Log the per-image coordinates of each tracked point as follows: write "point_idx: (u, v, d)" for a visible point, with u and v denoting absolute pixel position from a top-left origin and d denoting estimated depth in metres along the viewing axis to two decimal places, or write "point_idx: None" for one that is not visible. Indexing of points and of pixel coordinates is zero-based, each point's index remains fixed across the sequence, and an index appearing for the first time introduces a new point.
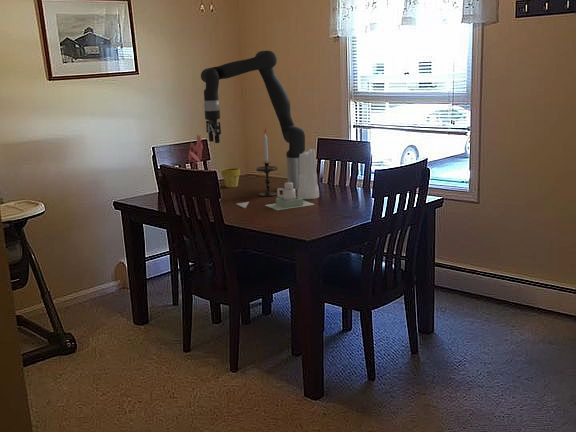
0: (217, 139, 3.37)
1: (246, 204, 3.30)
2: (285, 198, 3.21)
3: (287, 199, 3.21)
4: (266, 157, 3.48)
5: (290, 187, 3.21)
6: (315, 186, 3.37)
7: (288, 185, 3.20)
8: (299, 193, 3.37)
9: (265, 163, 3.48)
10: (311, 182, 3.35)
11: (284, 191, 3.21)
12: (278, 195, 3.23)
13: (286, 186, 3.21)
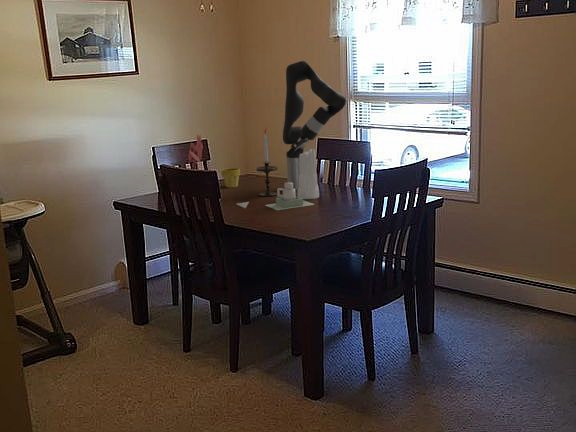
0: None
1: (246, 204, 3.30)
2: (285, 198, 3.21)
3: (287, 199, 3.21)
4: (266, 157, 3.48)
5: (290, 187, 3.21)
6: (315, 186, 3.37)
7: (288, 185, 3.20)
8: (299, 193, 3.37)
9: (265, 163, 3.48)
10: (311, 182, 3.35)
11: (284, 191, 3.21)
12: (278, 195, 3.23)
13: (286, 186, 3.21)
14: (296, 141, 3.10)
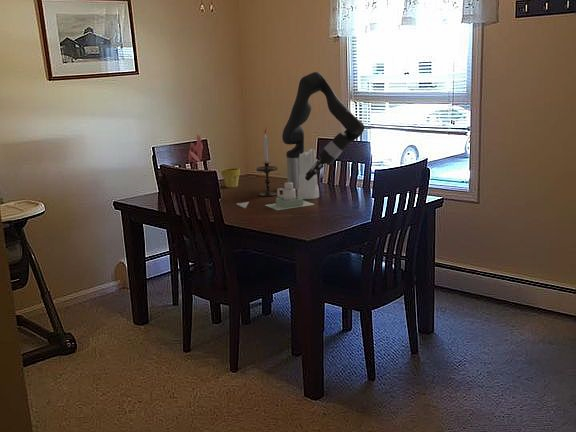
0: None
1: (246, 204, 3.30)
2: (285, 198, 3.21)
3: (287, 199, 3.21)
4: (266, 157, 3.48)
5: (290, 187, 3.21)
6: (315, 186, 3.37)
7: (288, 185, 3.20)
8: (299, 193, 3.37)
9: (265, 163, 3.48)
10: (311, 182, 3.35)
11: (284, 191, 3.21)
12: (278, 195, 3.23)
13: (286, 186, 3.21)
14: (317, 166, 3.13)
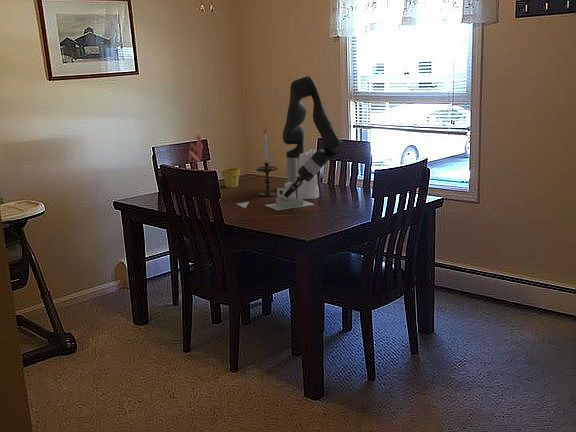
0: None
1: (246, 204, 3.30)
2: (285, 198, 3.21)
3: (287, 199, 3.21)
4: (266, 157, 3.48)
5: None
6: (315, 186, 3.37)
7: (288, 185, 3.20)
8: (299, 193, 3.37)
9: (265, 163, 3.48)
10: (311, 182, 3.35)
11: (284, 191, 3.21)
12: (278, 195, 3.23)
13: (286, 186, 3.21)
14: (295, 184, 3.16)
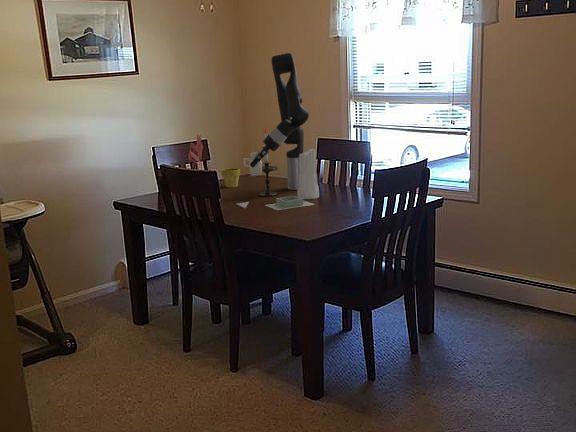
0: None
1: (246, 204, 3.30)
2: (251, 168, 3.24)
3: (253, 169, 3.24)
4: (266, 157, 3.48)
5: None
6: (315, 186, 3.37)
7: (254, 155, 3.23)
8: (299, 193, 3.37)
9: (265, 163, 3.48)
10: (311, 182, 3.35)
11: (250, 161, 3.24)
12: (244, 165, 3.26)
13: (252, 156, 3.24)
14: (260, 154, 3.18)
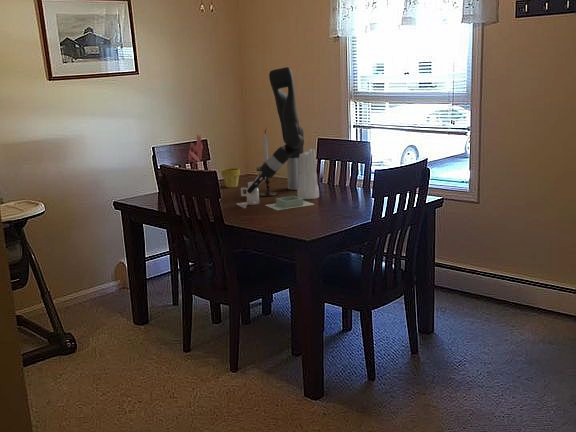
0: None
1: (246, 204, 3.30)
2: (248, 197, 3.28)
3: (250, 198, 3.28)
4: (266, 157, 3.48)
5: None
6: (315, 186, 3.37)
7: (251, 184, 3.27)
8: (299, 193, 3.37)
9: None
10: (311, 182, 3.35)
11: None
12: (242, 194, 3.30)
13: (249, 185, 3.28)
14: (258, 180, 3.22)
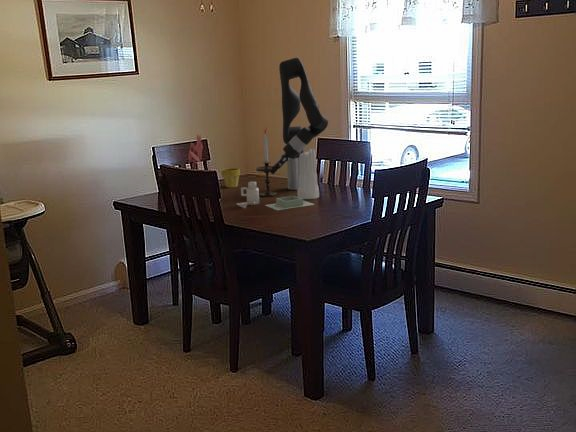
0: None
1: (246, 204, 3.30)
2: (248, 197, 3.28)
3: (250, 198, 3.28)
4: (266, 157, 3.48)
5: (253, 186, 3.28)
6: (315, 186, 3.37)
7: (251, 184, 3.28)
8: (299, 193, 3.37)
9: (265, 163, 3.48)
10: (311, 182, 3.35)
11: (247, 190, 3.28)
12: (242, 194, 3.30)
13: (249, 185, 3.28)
14: (281, 160, 3.19)
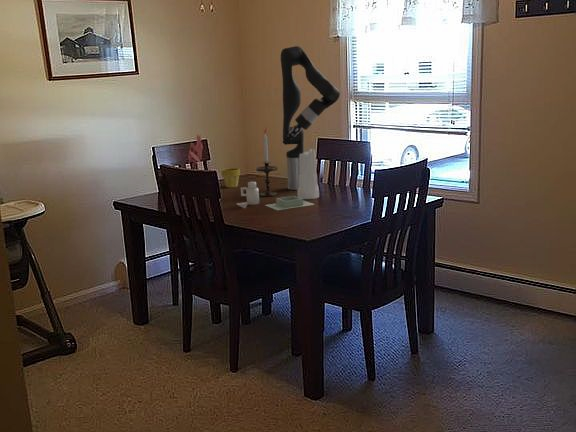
0: None
1: (246, 204, 3.30)
2: (248, 197, 3.28)
3: (250, 198, 3.28)
4: (266, 157, 3.48)
5: (253, 186, 3.28)
6: (315, 186, 3.37)
7: (251, 184, 3.27)
8: (299, 193, 3.37)
9: (265, 163, 3.48)
10: (311, 182, 3.35)
11: (247, 190, 3.28)
12: (242, 194, 3.30)
13: (249, 185, 3.28)
14: (294, 131, 3.25)
